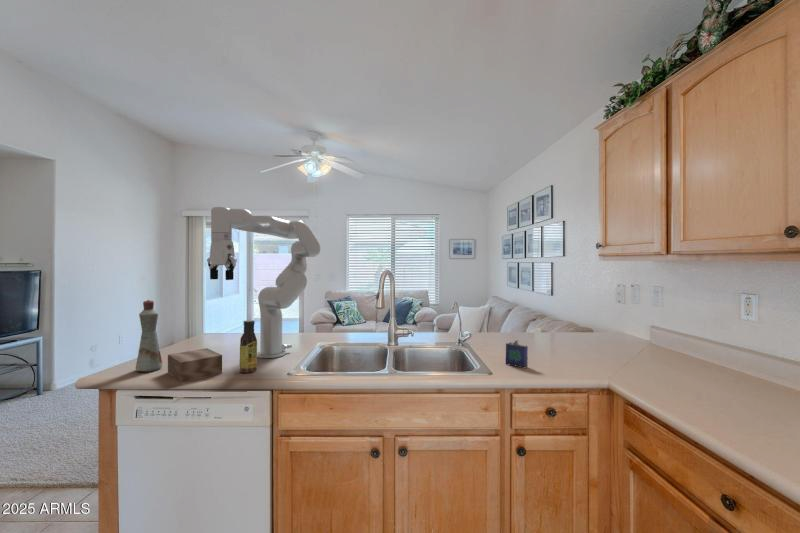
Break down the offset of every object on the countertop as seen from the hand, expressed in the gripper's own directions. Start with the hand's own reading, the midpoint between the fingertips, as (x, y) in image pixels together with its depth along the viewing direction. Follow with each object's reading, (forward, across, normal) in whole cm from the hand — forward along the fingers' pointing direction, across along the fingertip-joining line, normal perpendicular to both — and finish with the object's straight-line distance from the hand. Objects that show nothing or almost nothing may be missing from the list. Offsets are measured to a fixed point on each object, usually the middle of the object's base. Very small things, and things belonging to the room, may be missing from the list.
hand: (221, 279), depth 142 cm
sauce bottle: (+36, -14, -2) cm, 39 cm away
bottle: (+36, +22, +16) cm, 45 cm away
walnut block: (+36, +2, +10) cm, 37 cm away
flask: (+36, -106, -60) cm, 127 cm away
